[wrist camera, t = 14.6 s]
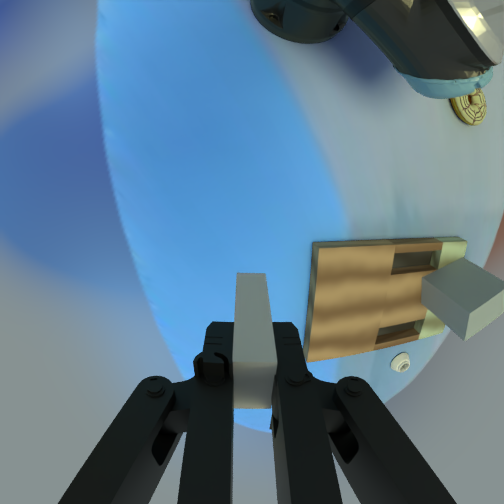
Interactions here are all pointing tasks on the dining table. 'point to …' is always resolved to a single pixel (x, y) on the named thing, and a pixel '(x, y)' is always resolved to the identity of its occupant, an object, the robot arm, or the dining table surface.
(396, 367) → the white jar
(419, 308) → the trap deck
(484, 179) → the dining table surface
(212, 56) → the dining table surface
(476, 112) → the decorated donut
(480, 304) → the grey block
